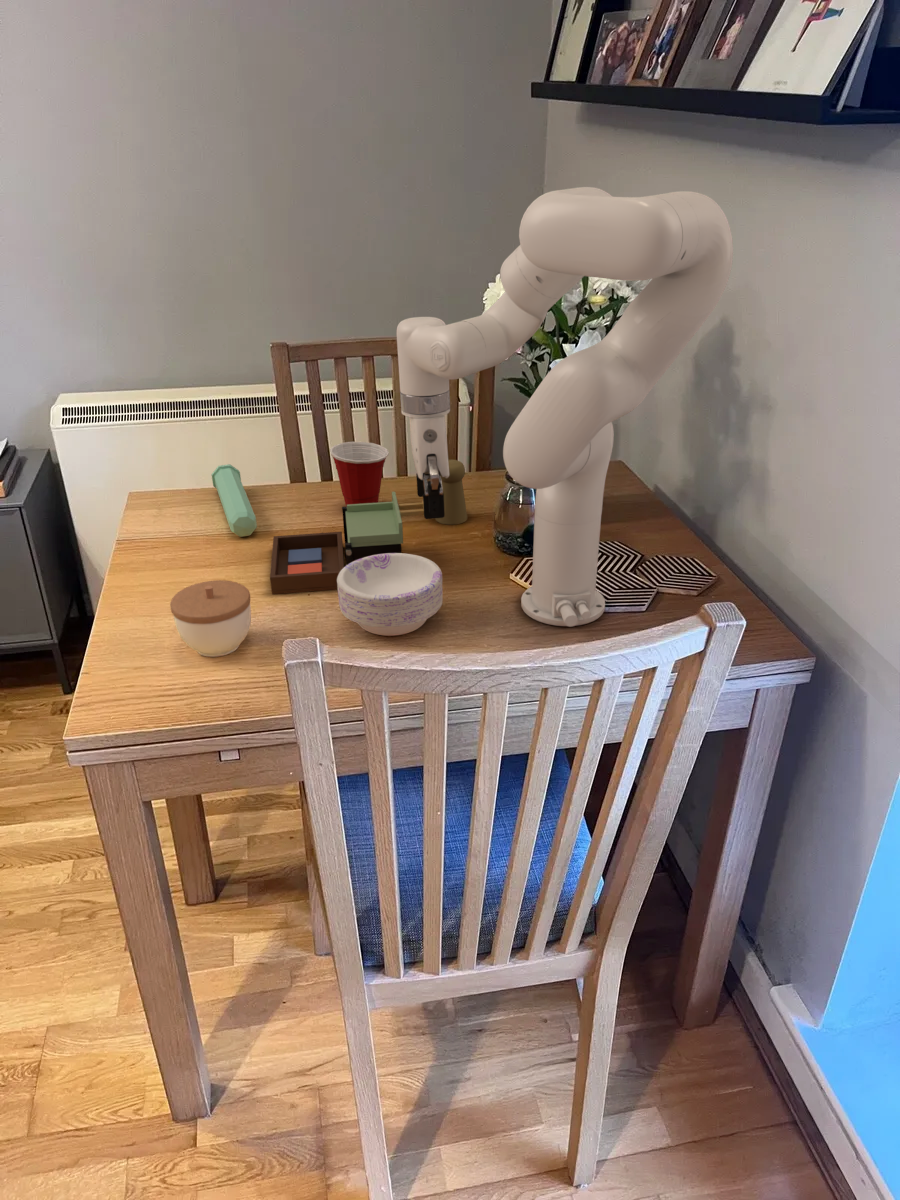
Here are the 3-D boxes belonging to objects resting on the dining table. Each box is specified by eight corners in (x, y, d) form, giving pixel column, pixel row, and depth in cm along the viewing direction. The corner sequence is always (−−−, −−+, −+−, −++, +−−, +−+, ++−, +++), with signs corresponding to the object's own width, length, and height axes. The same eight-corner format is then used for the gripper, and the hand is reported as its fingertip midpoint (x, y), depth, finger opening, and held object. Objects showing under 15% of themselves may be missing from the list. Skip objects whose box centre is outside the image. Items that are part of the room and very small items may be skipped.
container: (251, 506, 152) (231, 458, 173) (221, 522, 152) (205, 472, 172) (267, 532, 156) (246, 482, 176) (238, 548, 155) (220, 496, 176)
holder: (346, 588, 138) (344, 571, 137) (272, 594, 137) (269, 577, 135) (342, 547, 152) (341, 531, 150) (275, 551, 150) (273, 536, 149)
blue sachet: (288, 561, 144) (288, 566, 144) (321, 559, 144) (322, 563, 145) (288, 549, 148) (289, 554, 148) (321, 547, 148) (321, 551, 149)
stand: (404, 586, 138) (402, 543, 135) (348, 590, 137) (345, 547, 134) (395, 541, 153) (393, 501, 150) (345, 544, 152) (341, 504, 149)
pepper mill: (468, 512, 164) (468, 456, 159) (466, 525, 159) (465, 468, 154) (436, 511, 165) (435, 455, 160) (433, 524, 160) (431, 467, 154)
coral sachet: (287, 577, 139) (287, 582, 139) (322, 575, 139) (322, 579, 140) (287, 565, 143) (288, 569, 143) (321, 562, 143) (322, 566, 144)
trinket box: (259, 623, 129) (251, 567, 124) (253, 663, 120) (244, 603, 115) (185, 629, 128) (174, 572, 123) (173, 669, 118) (161, 609, 114)
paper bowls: (379, 587, 138) (376, 542, 134) (461, 610, 131) (461, 563, 128) (319, 630, 127) (314, 582, 123) (406, 658, 120) (404, 608, 116)
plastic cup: (389, 520, 161) (386, 458, 156) (331, 520, 162) (325, 459, 156) (393, 498, 171) (390, 439, 165) (338, 498, 171) (333, 439, 165)
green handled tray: (438, 541, 138) (438, 519, 136) (348, 547, 136) (346, 525, 134) (428, 508, 149) (428, 488, 147) (345, 514, 148) (344, 494, 146)
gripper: (457, 415, 126) (461, 524, 134) (442, 386, 141) (446, 486, 149) (406, 419, 125) (413, 529, 133) (396, 390, 140) (402, 489, 148)
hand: (430, 506), depth 141 cm, fingers open, 9 cm apart
